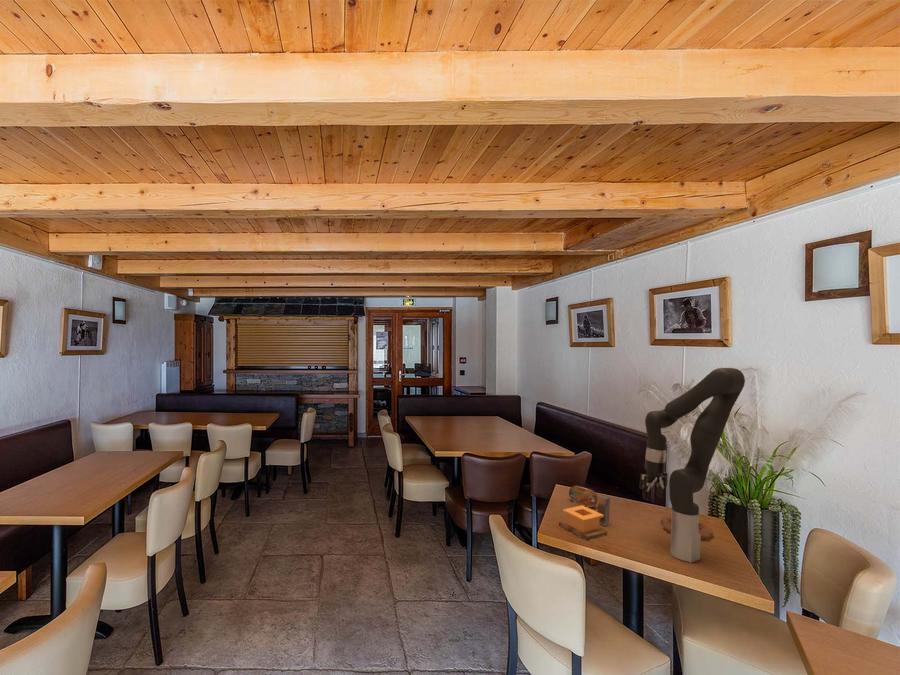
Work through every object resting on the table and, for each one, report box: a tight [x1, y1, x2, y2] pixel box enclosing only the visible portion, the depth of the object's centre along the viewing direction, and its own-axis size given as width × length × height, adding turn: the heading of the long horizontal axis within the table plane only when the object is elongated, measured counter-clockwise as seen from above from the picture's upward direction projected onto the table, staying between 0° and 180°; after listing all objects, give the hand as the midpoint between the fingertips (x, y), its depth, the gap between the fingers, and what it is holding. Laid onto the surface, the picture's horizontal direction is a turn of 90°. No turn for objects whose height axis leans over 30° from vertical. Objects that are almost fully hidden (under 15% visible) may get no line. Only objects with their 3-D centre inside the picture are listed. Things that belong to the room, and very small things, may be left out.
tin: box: [568, 485, 598, 509], centre depth 215 cm, size 15×3×8 cm, turn 40°
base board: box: [558, 519, 608, 541], centre depth 185 cm, size 16×12×2 cm
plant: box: [660, 508, 714, 542], centre depth 189 cm, size 20×20×11 cm
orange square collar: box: [562, 505, 604, 533], centre depth 185 cm, size 12×12×6 cm
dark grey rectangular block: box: [597, 495, 611, 527], centre depth 192 cm, size 4×4×12 cm
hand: (652, 498), depth 177 cm, fingers open, 8 cm apart
